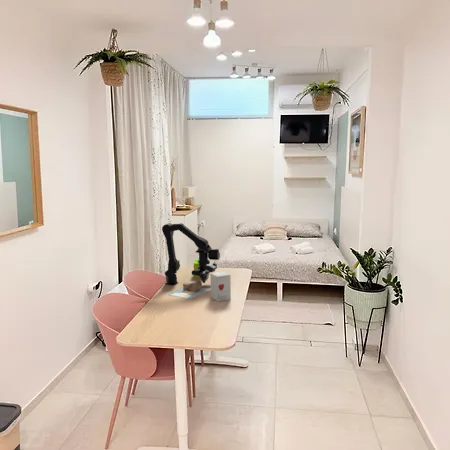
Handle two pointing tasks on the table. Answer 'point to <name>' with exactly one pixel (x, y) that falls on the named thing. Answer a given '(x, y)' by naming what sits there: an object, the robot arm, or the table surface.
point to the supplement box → (220, 286)
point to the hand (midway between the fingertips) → (204, 282)
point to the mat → (187, 293)
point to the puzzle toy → (197, 268)
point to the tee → (192, 286)
